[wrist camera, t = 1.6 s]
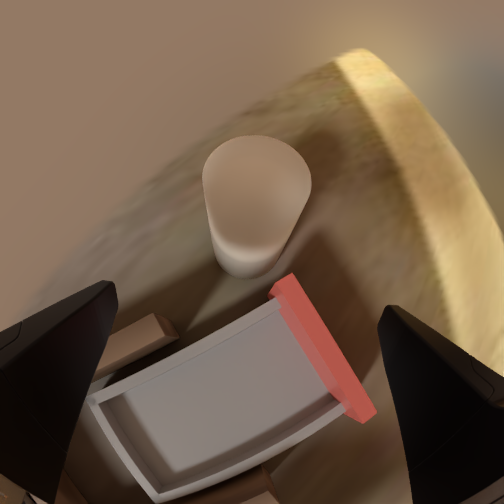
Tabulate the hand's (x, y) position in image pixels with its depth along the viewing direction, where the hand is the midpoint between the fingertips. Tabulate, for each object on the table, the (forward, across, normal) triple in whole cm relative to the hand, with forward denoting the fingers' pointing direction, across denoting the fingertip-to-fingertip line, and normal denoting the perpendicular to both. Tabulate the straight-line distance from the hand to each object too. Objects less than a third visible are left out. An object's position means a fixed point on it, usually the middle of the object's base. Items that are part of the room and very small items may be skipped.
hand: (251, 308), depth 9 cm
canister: (+13, 0, +4) cm, 14 cm away
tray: (+5, +1, +13) cm, 14 cm away
